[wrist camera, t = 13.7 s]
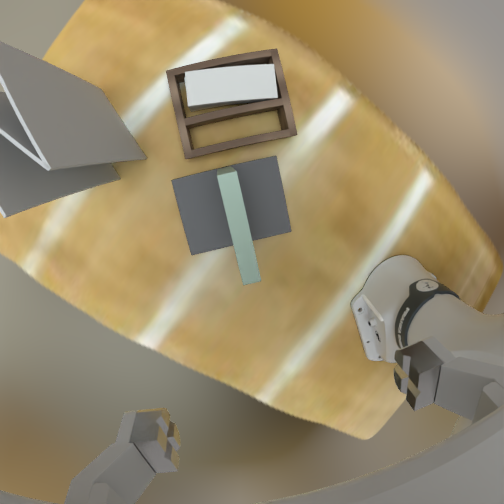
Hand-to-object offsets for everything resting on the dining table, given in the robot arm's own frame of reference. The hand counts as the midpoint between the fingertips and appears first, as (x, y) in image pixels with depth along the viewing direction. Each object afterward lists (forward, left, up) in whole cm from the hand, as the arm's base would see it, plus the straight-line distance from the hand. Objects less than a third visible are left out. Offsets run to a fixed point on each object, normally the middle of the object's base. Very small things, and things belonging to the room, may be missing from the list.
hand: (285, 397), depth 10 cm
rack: (+15, -3, -41) cm, 44 cm away
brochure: (+16, +16, -41) cm, 47 cm away
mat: (0, 0, -41) cm, 41 cm away
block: (0, 0, -40) cm, 41 cm away
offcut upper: (+17, -3, -39) cm, 42 cm away
